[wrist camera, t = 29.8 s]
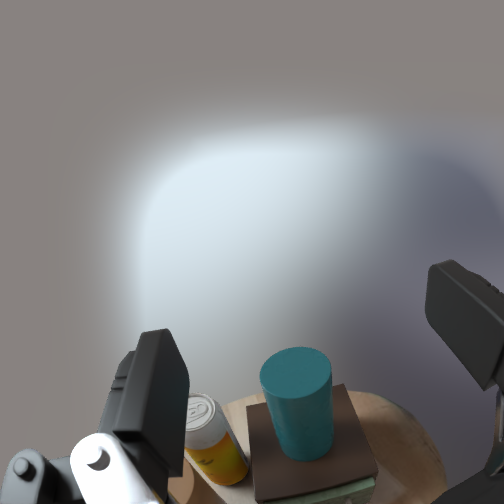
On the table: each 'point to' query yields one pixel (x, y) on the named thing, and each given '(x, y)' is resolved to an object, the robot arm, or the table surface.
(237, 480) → the beer can
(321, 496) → the drawer
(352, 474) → the cabinet
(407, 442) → the table surface
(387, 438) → the table surface
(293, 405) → the cylinder
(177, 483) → the stand
